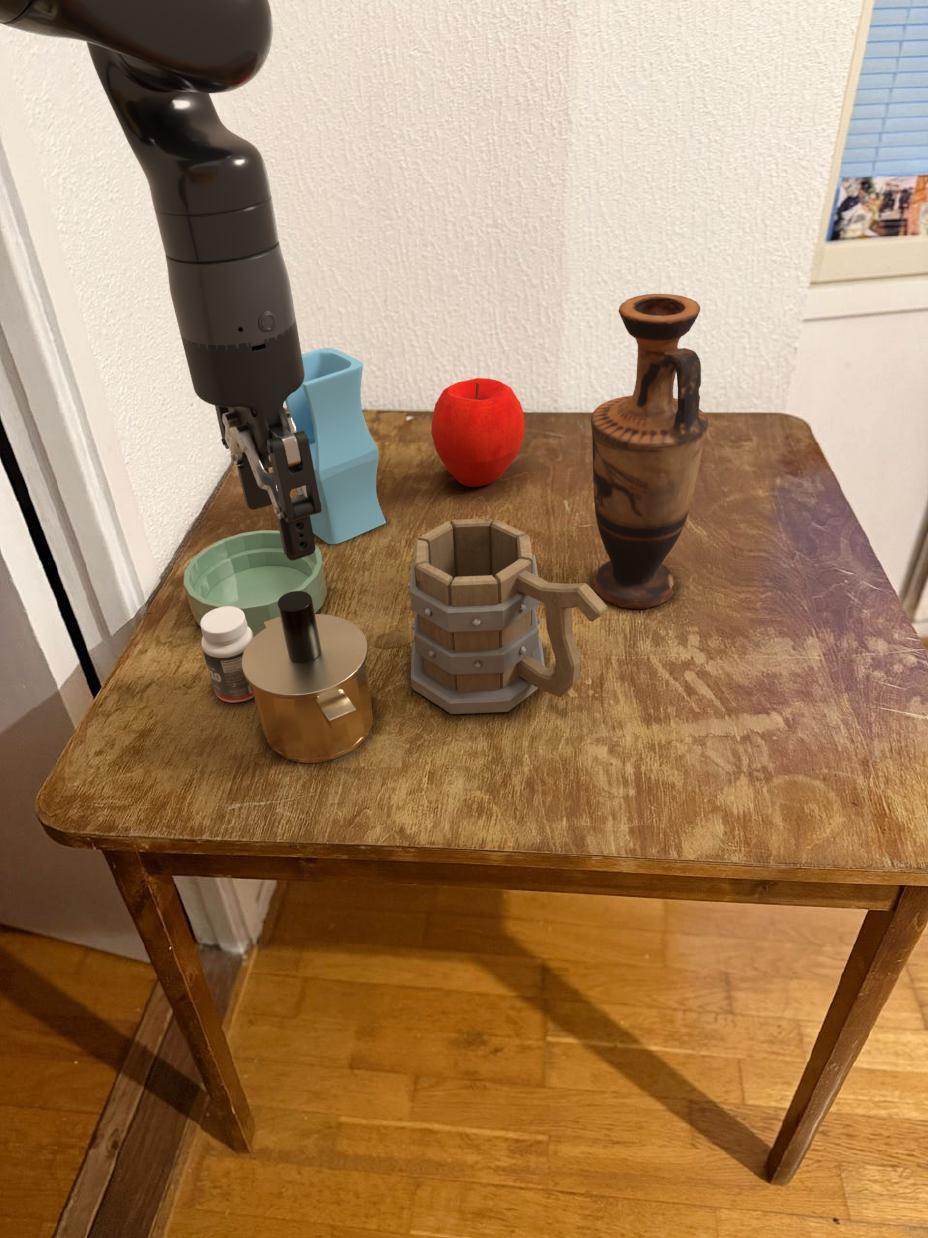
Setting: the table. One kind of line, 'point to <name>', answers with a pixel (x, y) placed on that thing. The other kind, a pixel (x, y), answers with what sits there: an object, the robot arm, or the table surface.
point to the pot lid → (304, 652)
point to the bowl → (251, 577)
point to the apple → (477, 430)
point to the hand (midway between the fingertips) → (280, 529)
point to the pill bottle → (226, 652)
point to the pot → (317, 720)
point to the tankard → (489, 619)
